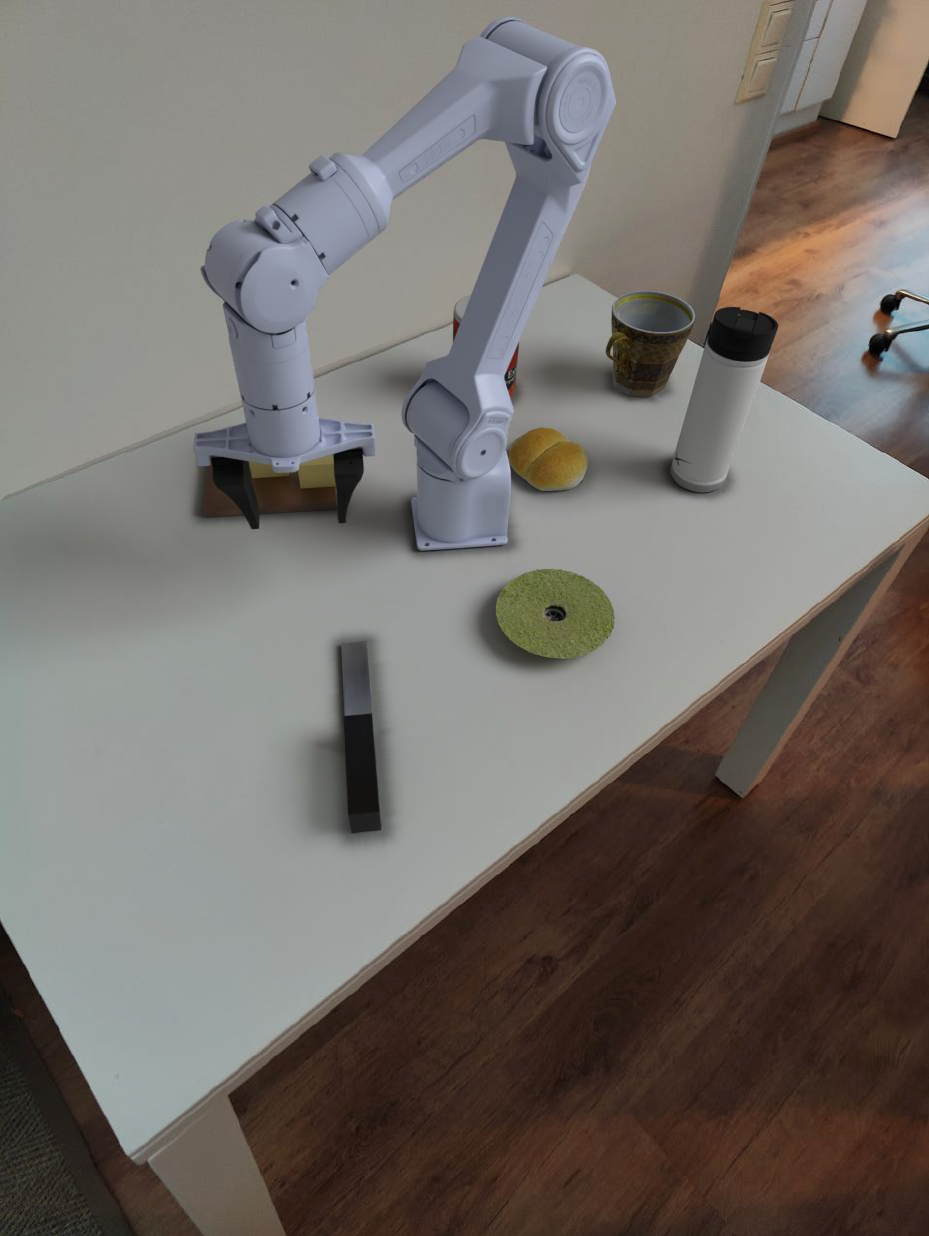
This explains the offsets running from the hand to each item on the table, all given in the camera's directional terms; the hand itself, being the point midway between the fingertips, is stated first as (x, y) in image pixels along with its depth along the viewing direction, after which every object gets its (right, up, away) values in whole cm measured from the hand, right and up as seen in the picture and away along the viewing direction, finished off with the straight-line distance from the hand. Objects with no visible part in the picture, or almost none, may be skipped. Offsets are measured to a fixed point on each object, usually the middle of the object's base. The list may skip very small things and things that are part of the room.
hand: (299, 518), depth 74 cm
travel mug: (+42, +7, +20) cm, 47 cm away
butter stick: (-7, +10, +19) cm, 22 cm away
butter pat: (-1, +6, +16) cm, 17 cm away
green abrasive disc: (+23, -10, +5) cm, 26 cm away
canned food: (+17, +20, +30) cm, 40 cm away
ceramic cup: (+36, +21, +32) cm, 52 cm away
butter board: (-7, +7, +18) cm, 21 cm away
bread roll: (+24, +8, +20) cm, 33 cm away
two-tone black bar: (+6, -19, -3) cm, 20 cm away
